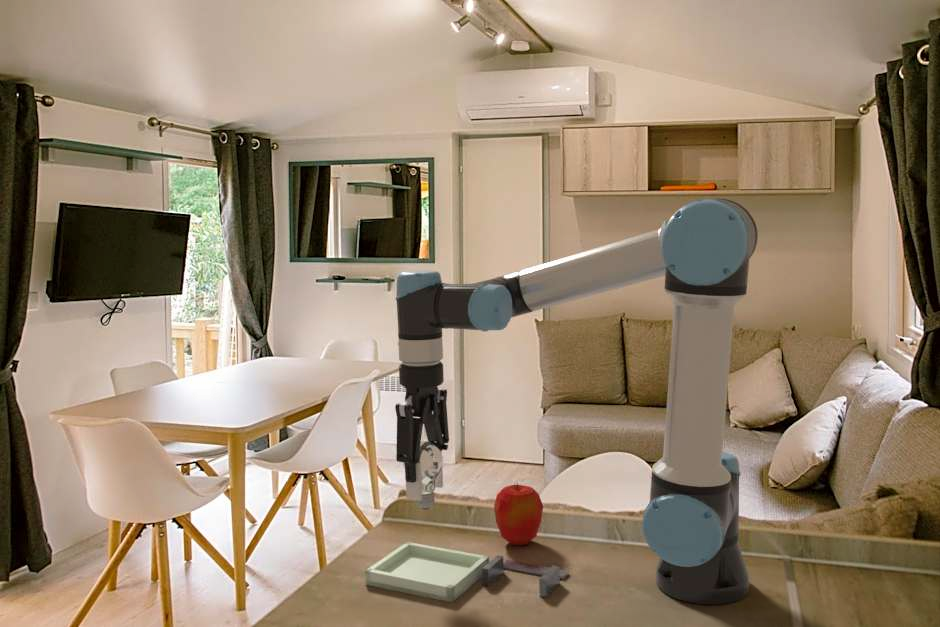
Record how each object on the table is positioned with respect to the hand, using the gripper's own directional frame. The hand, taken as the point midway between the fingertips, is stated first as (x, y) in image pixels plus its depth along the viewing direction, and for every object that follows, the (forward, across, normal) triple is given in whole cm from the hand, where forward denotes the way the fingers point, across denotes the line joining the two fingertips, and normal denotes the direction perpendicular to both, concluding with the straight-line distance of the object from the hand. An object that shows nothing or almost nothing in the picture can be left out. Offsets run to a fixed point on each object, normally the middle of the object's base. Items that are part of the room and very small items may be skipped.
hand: (425, 492), depth 153 cm
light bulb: (+3, 0, 0) cm, 3 cm away
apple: (+16, -20, +8) cm, 27 cm away
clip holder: (+15, -6, +16) cm, 23 cm away
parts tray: (+15, 0, 0) cm, 15 cm away
